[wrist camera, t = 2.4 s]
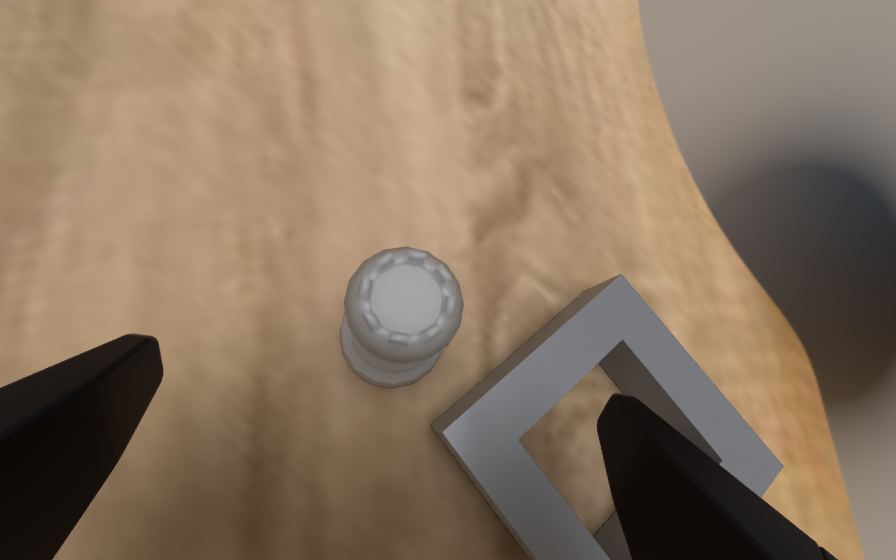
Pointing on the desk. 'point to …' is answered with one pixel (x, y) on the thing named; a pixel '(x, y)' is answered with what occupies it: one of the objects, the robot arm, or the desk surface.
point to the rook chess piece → (399, 316)
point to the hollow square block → (555, 373)
